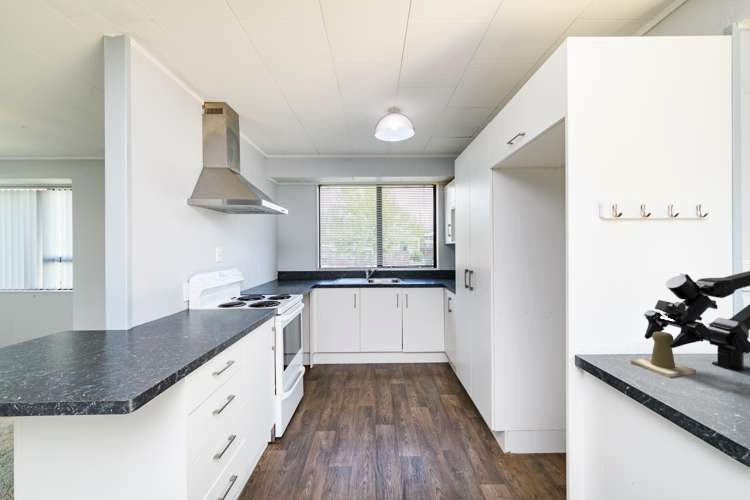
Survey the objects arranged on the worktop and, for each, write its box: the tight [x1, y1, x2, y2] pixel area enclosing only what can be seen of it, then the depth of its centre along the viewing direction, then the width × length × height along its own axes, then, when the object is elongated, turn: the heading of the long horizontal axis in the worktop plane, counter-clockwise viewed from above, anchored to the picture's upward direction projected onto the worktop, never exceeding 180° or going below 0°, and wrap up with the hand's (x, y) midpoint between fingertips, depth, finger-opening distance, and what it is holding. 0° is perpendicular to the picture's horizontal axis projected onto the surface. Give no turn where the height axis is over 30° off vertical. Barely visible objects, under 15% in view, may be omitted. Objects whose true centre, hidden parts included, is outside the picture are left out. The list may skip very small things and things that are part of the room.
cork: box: [650, 331, 675, 369], centre depth 102 cm, size 6×6×11 cm
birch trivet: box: [630, 357, 697, 378], centre depth 102 cm, size 12×12×1 cm
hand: (657, 342), depth 102 cm, fingers open, 9 cm apart
